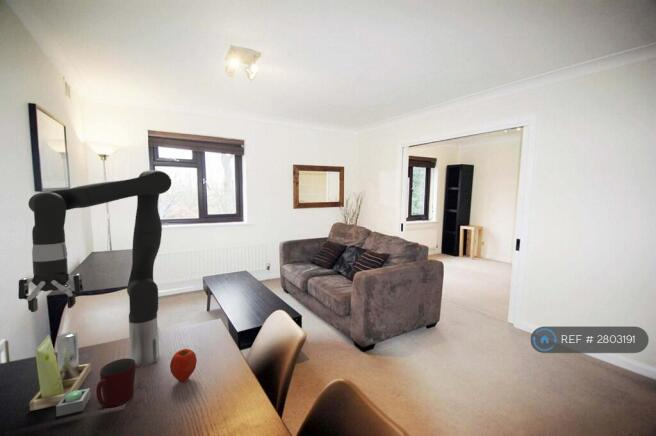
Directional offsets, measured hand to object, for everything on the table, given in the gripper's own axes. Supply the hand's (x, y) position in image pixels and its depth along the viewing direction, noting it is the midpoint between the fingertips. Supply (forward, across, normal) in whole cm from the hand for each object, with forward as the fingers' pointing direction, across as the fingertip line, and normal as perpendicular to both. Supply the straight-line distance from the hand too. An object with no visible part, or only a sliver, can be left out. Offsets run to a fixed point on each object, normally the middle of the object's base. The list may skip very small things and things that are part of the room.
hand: (53, 309), depth 86 cm
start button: (+28, +7, -7) cm, 29 cm away
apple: (+30, +36, -5) cm, 47 cm away
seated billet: (+28, 0, +8) cm, 30 cm away
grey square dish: (+30, +6, -7) cm, 31 cm away
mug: (+30, +17, -9) cm, 35 cm away
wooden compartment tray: (+30, 0, +4) cm, 30 cm away
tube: (+28, -1, 0) cm, 28 cm away
